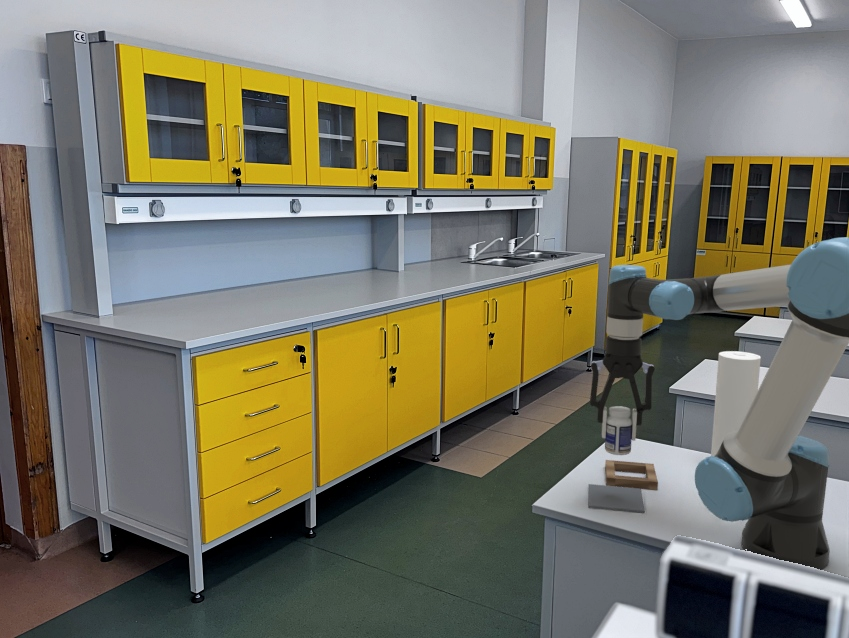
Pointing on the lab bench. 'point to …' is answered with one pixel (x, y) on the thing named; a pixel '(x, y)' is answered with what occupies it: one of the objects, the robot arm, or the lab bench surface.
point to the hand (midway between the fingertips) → (618, 437)
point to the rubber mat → (615, 498)
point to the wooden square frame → (628, 481)
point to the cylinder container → (733, 392)
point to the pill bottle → (618, 431)
